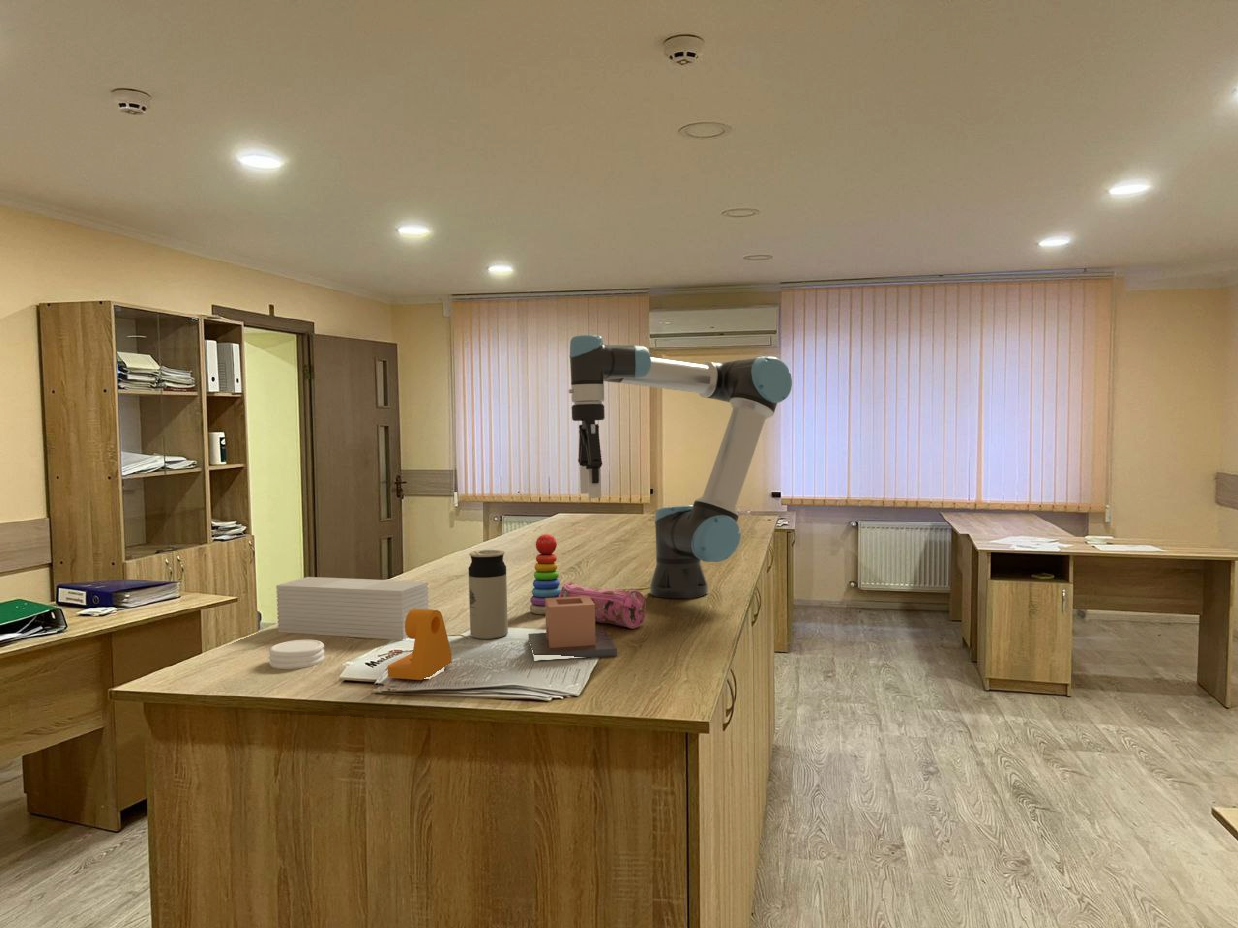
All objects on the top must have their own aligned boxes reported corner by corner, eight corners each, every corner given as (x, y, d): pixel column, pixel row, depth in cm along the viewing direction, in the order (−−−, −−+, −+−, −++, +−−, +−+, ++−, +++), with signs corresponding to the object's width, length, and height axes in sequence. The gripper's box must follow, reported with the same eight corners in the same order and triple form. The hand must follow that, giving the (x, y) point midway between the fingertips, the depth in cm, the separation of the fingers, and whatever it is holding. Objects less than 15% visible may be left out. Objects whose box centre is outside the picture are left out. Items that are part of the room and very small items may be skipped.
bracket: (417, 664, 160) (415, 602, 160) (451, 667, 158) (449, 603, 158) (385, 681, 150) (383, 614, 150) (421, 684, 148) (419, 616, 147)
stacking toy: (558, 615, 199) (556, 536, 198) (525, 614, 201) (523, 536, 200) (566, 608, 207) (564, 532, 206) (535, 607, 209) (533, 532, 208)
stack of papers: (278, 633, 189) (276, 585, 189) (309, 622, 199) (307, 576, 199) (403, 641, 180) (401, 590, 179) (429, 629, 190) (427, 581, 189)
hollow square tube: (546, 636, 173) (545, 598, 173) (589, 633, 175) (588, 595, 175) (549, 647, 165) (548, 607, 164) (595, 644, 166) (594, 604, 166)
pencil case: (552, 622, 194) (551, 583, 193) (579, 614, 201) (578, 577, 201) (627, 634, 181) (626, 593, 180) (652, 626, 188) (651, 586, 188)
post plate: (528, 640, 176) (527, 609, 176) (604, 636, 179) (603, 605, 179) (533, 661, 161) (533, 627, 160) (616, 656, 163) (616, 622, 163)
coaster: (296, 654, 170) (295, 637, 170) (335, 658, 167) (335, 641, 166) (257, 667, 161) (257, 649, 161) (298, 672, 157) (297, 654, 157)
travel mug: (507, 629, 187) (504, 548, 186) (508, 638, 179) (506, 553, 178) (470, 631, 185) (468, 550, 184) (470, 640, 177) (468, 555, 177)
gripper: (565, 405, 206) (567, 492, 207) (578, 402, 181) (581, 501, 182) (595, 404, 207) (598, 490, 208) (613, 401, 183) (616, 499, 184)
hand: (590, 495), depth 195 cm, fingers open, 13 cm apart
